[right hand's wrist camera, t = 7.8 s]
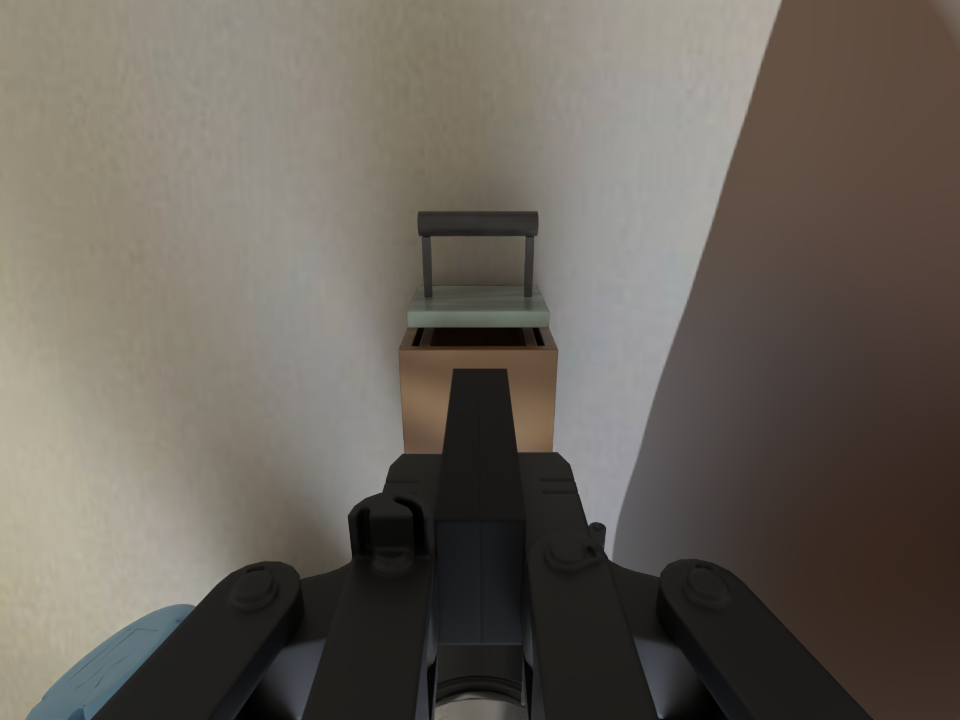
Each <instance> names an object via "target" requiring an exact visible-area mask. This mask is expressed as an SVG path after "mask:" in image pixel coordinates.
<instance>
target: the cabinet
mask: <svg viewBox="0 0 960 720" xmlns="http://www.w3.org/2000/svg"><path fill="white" fill-rule="evenodd" d="M424 329H425V328H409V327H408V329H407V331H406V333H405V336H404V338H403V341H402V343H401V345H400V348H399V350H398V353H399V369H400V386H401V403H402V420H403V436H404V453H405V454H442V451H443V443H444V435H445V427H446V420H447V412H448V404H449V396H450V389H451V381H452V373H453V369H507V373H508V381H509V389H510V396H511V404H512V412H513V420H514V427H515V435H516V443H517V451H518V452H552V449H553V431H554V413H555V396H556V378H557V360H558V349H557V347H556V344H555V342H554V339H553V337H552V334H551V332H550V330H549V327H532V330H533V334H534V337H535V340H536V343H537V346H419V345H420V342H421V339H422V336H423V332H424Z"/></svg>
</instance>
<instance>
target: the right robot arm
mask: <svg viewBox="0 0 960 720" xmlns="http://www.w3.org/2000/svg"><path fill="white" fill-rule="evenodd" d="M348 522H349V532H350V541H351V550H352V560H351V562H350V563H349V564H347V565H345V566H343V567H341V568H339V569H337V570H334V571H331V572H328V573H325V574H321V575H317V576H313V577H309V578H305V579H301V580H300V575H299V574H298V573H297V571H296V570H295V569H294V568H293V567H292V566H290V565H287V564H285V563H282V562H274V561H264V562H259V563H255V564H251V565H247V566H245V567H243V568H241V569H239V570H237V571H234V572H232V573H231V574H229V575H228V576H227V577H226V578H224V579H223V580H222V581H221V582H220V583H218V584H217V585H216V586H215V587H214V588H213V589H212V590H211V592H210V593H209V594H208V595H207V596H206V597H205V598H204V599H203V600H202V601H201V602H200V603H199V604H198V605H197V606H196V608H195V609H194V610H193V611H192V612H191V613H190V614H189V615H188V616H187V617H186V618H185V619H184V620H183V621H182V622H181V623H180V625H179V626H178V627H177V628H176V629H175V630H174V631H173V632H172V633H171V634H170V635H169V636H168V637H167V638H166V639H165V641H164V642H163V643H162V644H161V645H160V646H159V647H158V648H157V649H156V650H155V651H154V652H153V653H152V654H151V655H150V657H149V658H148V659H147V660H146V661H145V662H144V663H143V664H142V665H141V666H140V667H139V668H138V669H137V670H136V671H135V673H134V674H133V675H132V676H131V677H130V678H129V679H128V680H127V681H126V682H125V683H124V684H123V685H122V686H121V687H120V688H119V690H118V691H117V692H116V693H115V694H114V695H113V696H112V697H111V698H110V699H109V700H108V701H107V702H106V703H105V704H104V706H103V707H102V708H101V709H100V710H99V711H98V712H97V713H96V714H95V715H94V716H93V717H92V718H91V719H90V720H434V714H435V702H436V689H437V676H438V669H437V645H522V642H523V669H522V694H521V705H525V714H526V720H873V719H872V718H871V717H870V716H869V715H868V714H867V713H866V711H865V710H864V709H863V708H862V707H861V706H860V705H859V704H858V703H857V702H856V701H855V700H854V699H853V698H852V697H851V696H850V695H849V694H848V692H847V691H846V690H845V689H844V688H843V687H842V686H841V685H840V684H839V683H838V682H837V681H836V680H835V679H834V678H833V677H832V675H831V674H830V673H829V672H828V671H827V670H826V669H825V668H824V667H823V666H822V665H821V664H820V663H819V662H818V661H817V660H816V659H815V657H814V656H813V655H812V654H811V653H810V652H809V651H808V650H807V649H806V648H805V647H804V646H803V645H802V644H801V643H800V642H799V641H798V640H797V638H796V637H795V636H794V635H793V634H792V633H791V632H790V631H789V630H788V629H787V628H786V627H785V626H784V625H783V624H782V623H781V622H780V620H779V619H778V618H777V617H776V616H775V615H774V614H773V613H772V612H771V611H770V610H769V609H768V608H767V607H766V606H765V605H764V604H763V603H762V601H761V600H760V599H759V598H758V597H757V596H756V595H755V594H754V593H753V592H752V591H751V590H750V589H749V588H748V587H747V586H746V585H745V583H744V582H743V581H741V580H740V579H739V578H738V577H736V576H735V575H734V574H733V573H731V572H730V571H728V570H726V569H724V568H722V567H720V566H718V565H716V564H714V563H711V562H706V561H702V560H698V559H681V560H678V561H675V562H673V563H670V564H668V565H667V566H666V567H665V569H664V570H663V571H662V572H661V575H660V577H655V576H652V575H648V574H643V573H639V572H635V571H632V570H629V569H626V568H623V567H621V566H619V565H617V564H615V563H613V562H611V561H610V560H609V559H608V557H607V555H606V553H605V552H604V550H603V548H602V547H601V546H600V545H599V544H598V543H596V542H595V541H594V540H592V537H591V534H590V530H589V527H588V524H587V520H586V517H585V514H584V510H583V507H582V503H581V500H580V497H579V494H578V490H577V486H576V483H575V482H574V476H573V473H572V470H571V466H570V464H569V463H568V462H567V461H566V460H565V459H564V458H563V457H562V456H561V455H560V454H559V453H558V452H518V451H517V443H516V435H515V427H514V420H513V412H512V404H511V396H510V389H509V381H508V373H507V369H453V373H452V381H451V389H450V396H449V404H448V412H447V420H446V427H445V435H444V443H443V451H442V454H402V455H401V456H400V457H399V458H398V459H397V460H396V461H395V462H394V463H393V464H392V465H391V466H390V468H389V472H388V475H387V478H386V484H385V485H384V489H383V492H382V493H379V494H376V495H373V496H370V497H368V498H365V499H364V500H362V501H361V502H360V503H358V504H357V505H355V506H354V508H353V509H352V510H351V512H350V513H349V515H348Z"/></svg>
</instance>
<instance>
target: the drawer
mask: <svg viewBox="0 0 960 720" xmlns="http://www.w3.org/2000/svg"><path fill="white" fill-rule="evenodd" d="M418 233H419V236H423V237H422V251H423V276H424V286H419V287H418V289H417V291H416V294H415V296H414V298H413V300H412V302H411V304H410V307H409V309H408V311H407V323H408V327H409V328H425V329H424V332H423V336H422V339H421V342H420V345H419V346H537V343H536V340H535V337H534V334H533V330H532V327H549V310H548V308H547V306H546V303H545V301H544V299H543V297H542V295H541V293H540V290H539V288H538V286H533V259H534V236H537V234H538V212H537V211H419V212H418ZM431 236H526V237H525V270H524V286H432V260H431Z"/></svg>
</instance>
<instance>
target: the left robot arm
mask: <svg viewBox="0 0 960 720" xmlns="http://www.w3.org/2000/svg"><path fill="white" fill-rule="evenodd" d="M588 527H589V530H590V534H591V537H592V540H594V541H595V542H596V543H598V544H599V545H600V546H601V547H602V548H603V550H604V544H605V535H606V527H605V526H604V525H603V524H602V523H598V522H594V523H591V524H590V525H589V526H588ZM195 608H196V606H193V605H188V604H179V605H172V606H168V607H165V608H162V609H159V610H157V611H154V612H152V613H150V614H148V615H146V616H144V617H142V618H140V619H138V620H137V621H135V622H133V623H132V624H130V625H128V626H126V627H125V628H123V629H122V630H120V631H119V632H117V633H116V634H114V635H113V636H111V637H110V638H109V639H107V640H106V641H104V642H103V643H102V644H100V645H99V646H98V647H96V648H95V649H94V650H93V651H91V652H90V653H89V654H87V655H86V656H85V657H84V658H83V659H81V660H80V661H79V662H78V663H77V664H75V665H74V666H73V667H72V668H71V669H70V670H69V671H68V672H66V673H65V674H64V675H63V676H62V677H61V678H60V679H59V680H58V681H57V682H56V683H55V684H54V685H53V686H52V687H51V688H50V689H49V690H48V691H47V692H46V693H45V695H44V696H43V698H42V701H41V702H40V703H39V704H37V705H36V706H35V707H34V708H33V709H32V710H31V712H30V713H29V715H28V716H27V718H26V719H25V720H90V719H91V718H92V717H93V716H94V715H95V714H96V713H97V712H98V711H99V710H100V709H101V708H102V707H103V706H104V704H105V703H106V702H107V701H108V700H109V699H110V698H111V697H112V696H113V695H114V694H115V693H116V692H117V691H118V690H119V688H120V687H121V686H122V685H123V684H124V683H125V682H126V681H127V680H128V679H129V678H130V677H131V676H132V675H133V674H134V673H135V671H136V670H137V669H138V668H139V667H140V666H141V665H142V664H143V663H144V662H145V661H146V660H147V659H148V658H149V657H150V655H151V654H152V653H153V652H154V651H155V650H156V649H157V648H158V647H159V646H160V645H161V644H162V643H163V642H164V641H165V639H166V638H167V637H168V636H169V635H170V634H171V633H172V632H173V631H174V630H175V629H176V628H177V627H178V626H179V625H180V623H181V622H182V621H183V620H184V619H185V618H186V617H187V616H188V615H189V614H190V613H191V612H192V611H193V610H194V609H195ZM437 669H438V676H437V689H436V702H435V714H434V720H526V714H525V705H521V694H522V669H523V642H522V645H437Z"/></svg>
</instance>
